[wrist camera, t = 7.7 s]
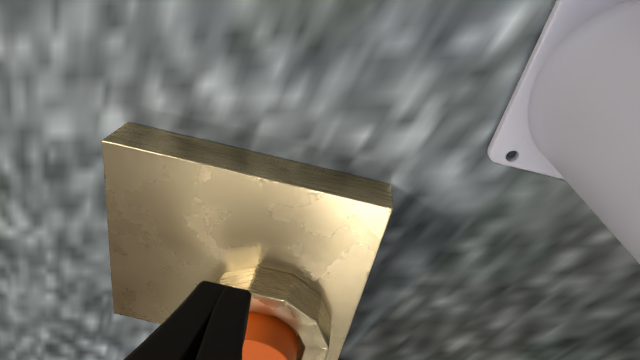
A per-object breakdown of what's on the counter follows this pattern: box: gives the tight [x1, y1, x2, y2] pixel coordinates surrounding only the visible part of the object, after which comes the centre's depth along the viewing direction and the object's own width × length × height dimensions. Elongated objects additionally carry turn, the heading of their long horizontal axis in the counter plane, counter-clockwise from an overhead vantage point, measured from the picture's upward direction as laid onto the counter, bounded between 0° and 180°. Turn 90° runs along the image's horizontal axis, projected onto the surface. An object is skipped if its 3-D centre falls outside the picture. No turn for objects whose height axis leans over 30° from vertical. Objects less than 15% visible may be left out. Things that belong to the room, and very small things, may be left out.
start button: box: [242, 311, 299, 360], centre depth 20 cm, size 4×4×2 cm
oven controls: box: [102, 122, 393, 360], centre depth 21 cm, size 13×12×4 cm
